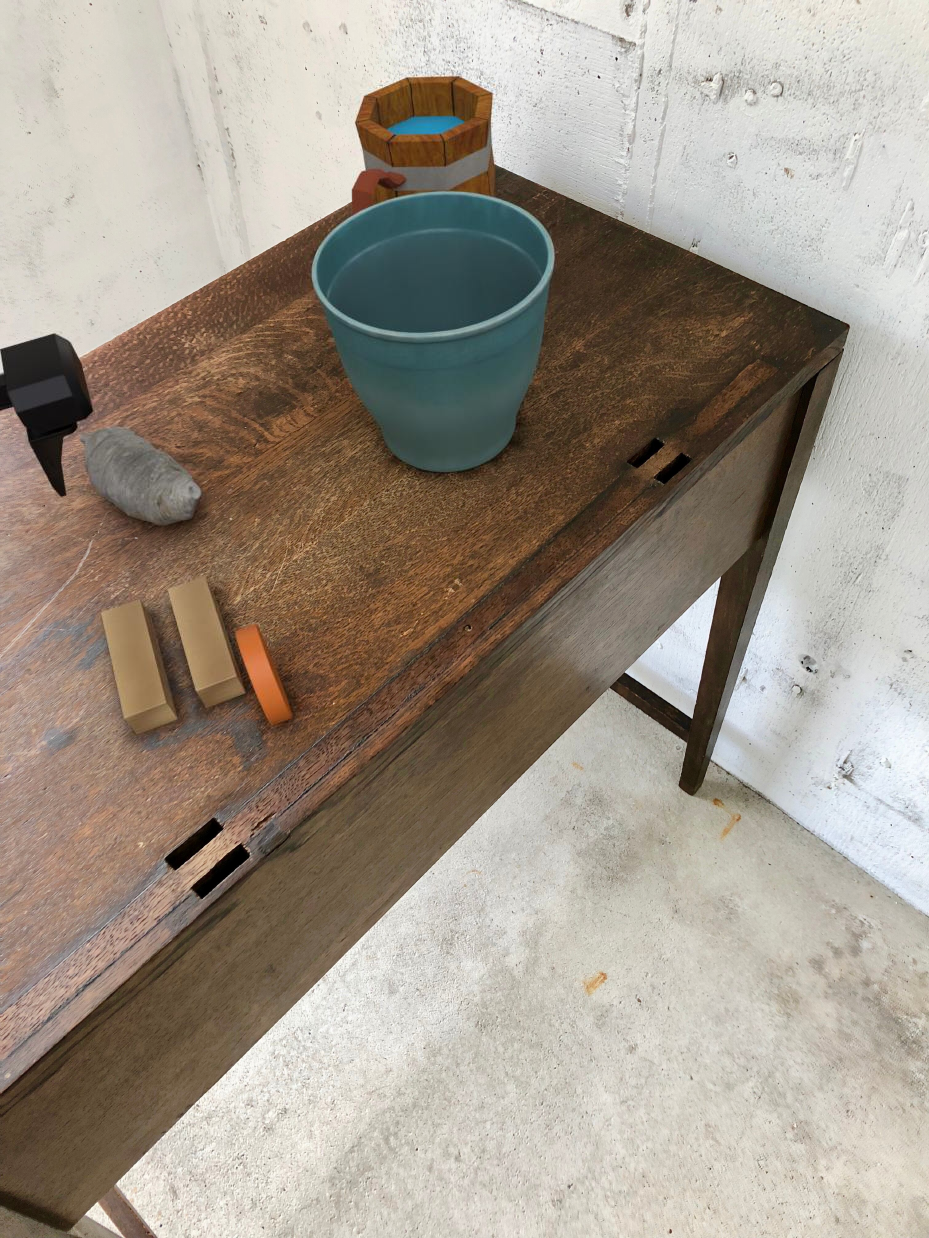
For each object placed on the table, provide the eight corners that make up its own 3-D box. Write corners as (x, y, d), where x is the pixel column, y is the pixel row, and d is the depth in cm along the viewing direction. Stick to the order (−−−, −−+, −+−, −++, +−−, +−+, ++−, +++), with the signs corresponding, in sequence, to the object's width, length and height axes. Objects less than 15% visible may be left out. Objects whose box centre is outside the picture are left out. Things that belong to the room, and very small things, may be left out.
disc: (279, 739, 62) (257, 702, 56) (250, 658, 65) (227, 613, 59) (299, 732, 62) (279, 693, 56) (270, 650, 65) (248, 605, 59)
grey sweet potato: (117, 414, 78) (88, 371, 70) (226, 515, 77) (209, 483, 70) (63, 462, 77) (27, 424, 69) (173, 565, 76) (149, 538, 68)
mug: (416, 208, 100) (399, 65, 88) (522, 234, 96) (521, 87, 83) (321, 306, 90) (288, 160, 78) (434, 339, 86) (418, 190, 74)
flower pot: (558, 497, 73) (564, 324, 59) (344, 509, 74) (300, 342, 60) (543, 358, 83) (545, 183, 70) (355, 369, 84) (320, 199, 70)
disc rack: (137, 735, 62) (123, 718, 60) (113, 630, 68) (100, 612, 66) (246, 693, 64) (236, 675, 62) (214, 594, 69) (205, 575, 67)
